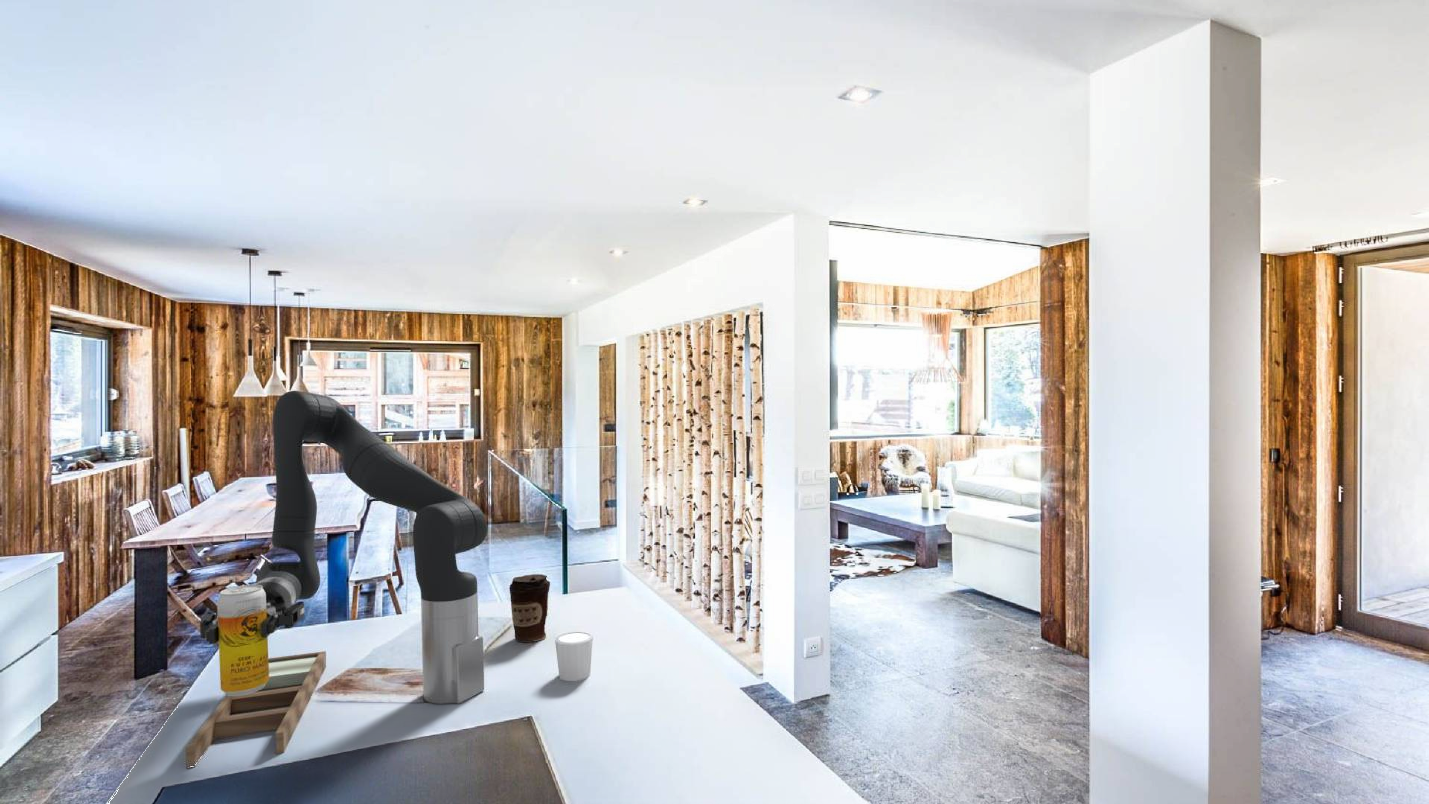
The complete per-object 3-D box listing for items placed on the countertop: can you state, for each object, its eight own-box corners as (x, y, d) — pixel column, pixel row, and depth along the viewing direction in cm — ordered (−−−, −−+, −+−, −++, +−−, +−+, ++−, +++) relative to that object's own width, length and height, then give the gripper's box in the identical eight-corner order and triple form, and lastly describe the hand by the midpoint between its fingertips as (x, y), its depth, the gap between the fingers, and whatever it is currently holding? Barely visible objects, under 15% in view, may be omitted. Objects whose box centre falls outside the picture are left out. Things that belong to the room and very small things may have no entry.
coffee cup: (545, 645, 149) (543, 582, 149) (505, 645, 149) (503, 583, 149) (555, 631, 158) (553, 572, 157) (517, 632, 158) (515, 572, 158)
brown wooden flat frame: (254, 676, 135) (253, 660, 135) (326, 666, 139) (325, 651, 139) (186, 768, 101) (185, 747, 101) (283, 752, 105) (283, 732, 105)
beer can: (233, 700, 104) (229, 596, 104) (213, 692, 107) (208, 591, 107) (277, 685, 109) (273, 586, 109) (256, 678, 112) (252, 582, 112)
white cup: (589, 682, 129) (589, 643, 129) (551, 682, 129) (550, 644, 129) (596, 667, 136) (596, 630, 136) (560, 668, 136) (559, 631, 136)
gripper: (215, 586, 119) (178, 615, 103) (314, 576, 124) (293, 602, 108) (217, 631, 119) (180, 667, 103) (315, 620, 124) (295, 652, 108)
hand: (238, 633), depth 106 cm, fingers closed on beer can, 6 cm apart
